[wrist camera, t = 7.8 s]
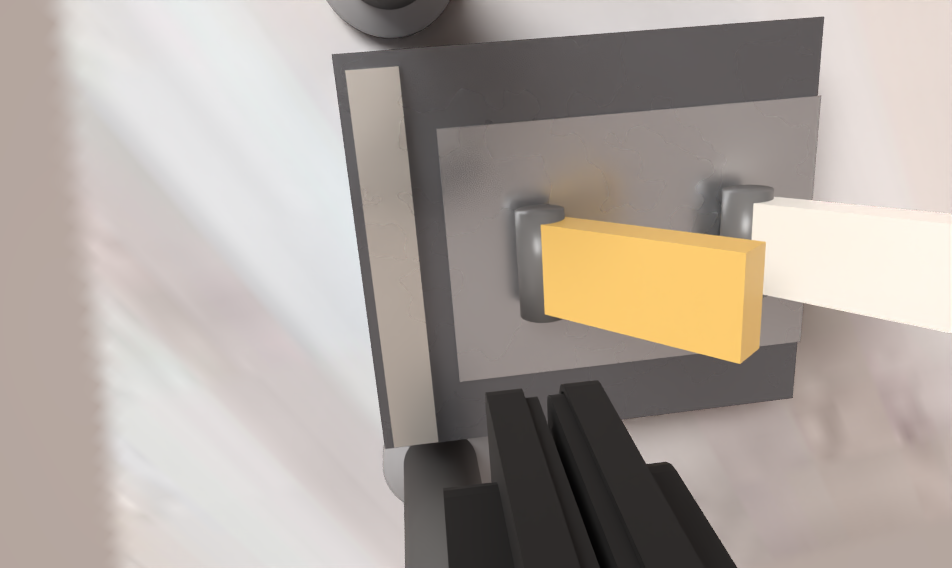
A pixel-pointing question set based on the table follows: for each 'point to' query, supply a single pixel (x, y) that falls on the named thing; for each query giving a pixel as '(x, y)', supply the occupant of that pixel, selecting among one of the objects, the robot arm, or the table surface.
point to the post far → (432, 491)
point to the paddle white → (848, 254)
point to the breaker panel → (561, 204)
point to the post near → (389, 15)
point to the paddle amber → (641, 281)
